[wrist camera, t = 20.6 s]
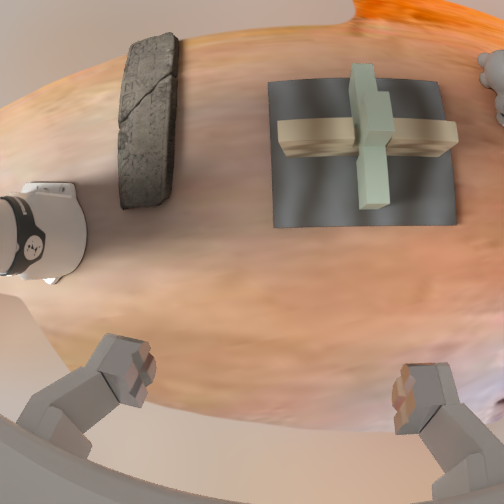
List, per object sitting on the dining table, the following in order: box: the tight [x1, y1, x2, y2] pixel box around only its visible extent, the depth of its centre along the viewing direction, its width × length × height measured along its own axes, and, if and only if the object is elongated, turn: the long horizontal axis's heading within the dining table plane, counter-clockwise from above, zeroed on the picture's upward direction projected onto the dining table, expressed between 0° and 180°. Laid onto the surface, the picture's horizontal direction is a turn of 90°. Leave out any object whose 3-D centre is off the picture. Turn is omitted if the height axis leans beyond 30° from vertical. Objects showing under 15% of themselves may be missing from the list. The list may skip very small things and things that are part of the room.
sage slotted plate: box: [348, 63, 395, 210], centre depth 31 cm, size 16×2×12 cm, turn 2°
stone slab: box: [118, 32, 179, 210], centre depth 45 cm, size 10×3×30 cm
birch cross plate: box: [268, 78, 459, 228], centre depth 34 cm, size 24×20×9 cm
